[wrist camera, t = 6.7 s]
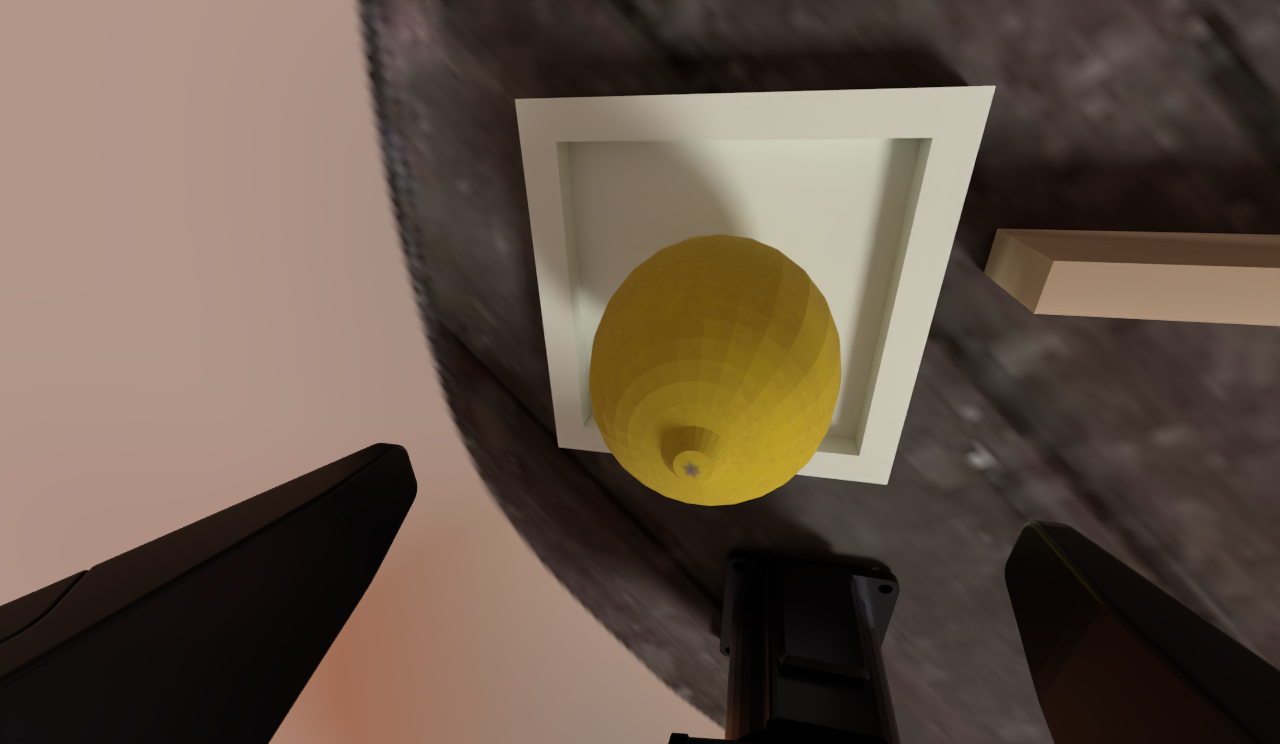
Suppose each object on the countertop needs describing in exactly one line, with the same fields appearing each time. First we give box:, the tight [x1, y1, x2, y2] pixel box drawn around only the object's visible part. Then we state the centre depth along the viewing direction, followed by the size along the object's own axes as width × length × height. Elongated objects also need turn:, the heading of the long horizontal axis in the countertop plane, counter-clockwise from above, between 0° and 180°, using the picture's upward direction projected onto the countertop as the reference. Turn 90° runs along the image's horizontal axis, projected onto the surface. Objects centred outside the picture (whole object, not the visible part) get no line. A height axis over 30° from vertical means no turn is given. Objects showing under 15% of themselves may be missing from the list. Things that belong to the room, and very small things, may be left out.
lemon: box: [589, 234, 841, 506], centre depth 12 cm, size 6×6×8 cm
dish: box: [515, 86, 996, 485], centre depth 15 cm, size 11×11×2 cm
